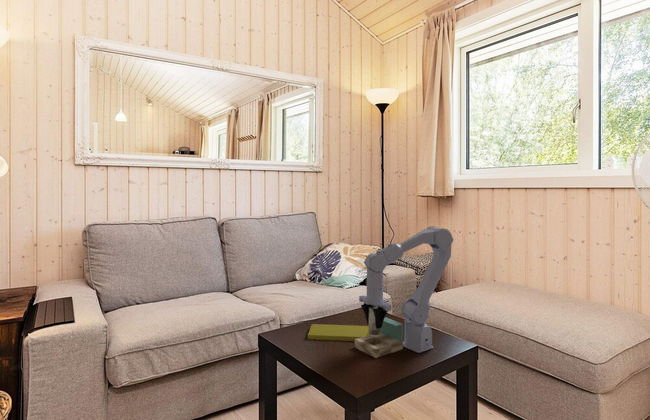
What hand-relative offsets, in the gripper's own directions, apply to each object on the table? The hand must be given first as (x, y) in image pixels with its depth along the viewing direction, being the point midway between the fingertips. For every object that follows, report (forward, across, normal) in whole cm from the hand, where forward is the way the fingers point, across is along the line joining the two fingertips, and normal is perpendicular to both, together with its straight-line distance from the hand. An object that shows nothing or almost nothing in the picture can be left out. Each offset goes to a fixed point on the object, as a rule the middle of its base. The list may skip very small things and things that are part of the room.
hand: (374, 326), depth 140 cm
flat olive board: (+9, -18, -1) cm, 21 cm away
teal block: (+5, 0, +7) cm, 9 cm away
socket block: (+8, 0, +2) cm, 9 cm away
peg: (+2, 0, 0) cm, 3 cm away
